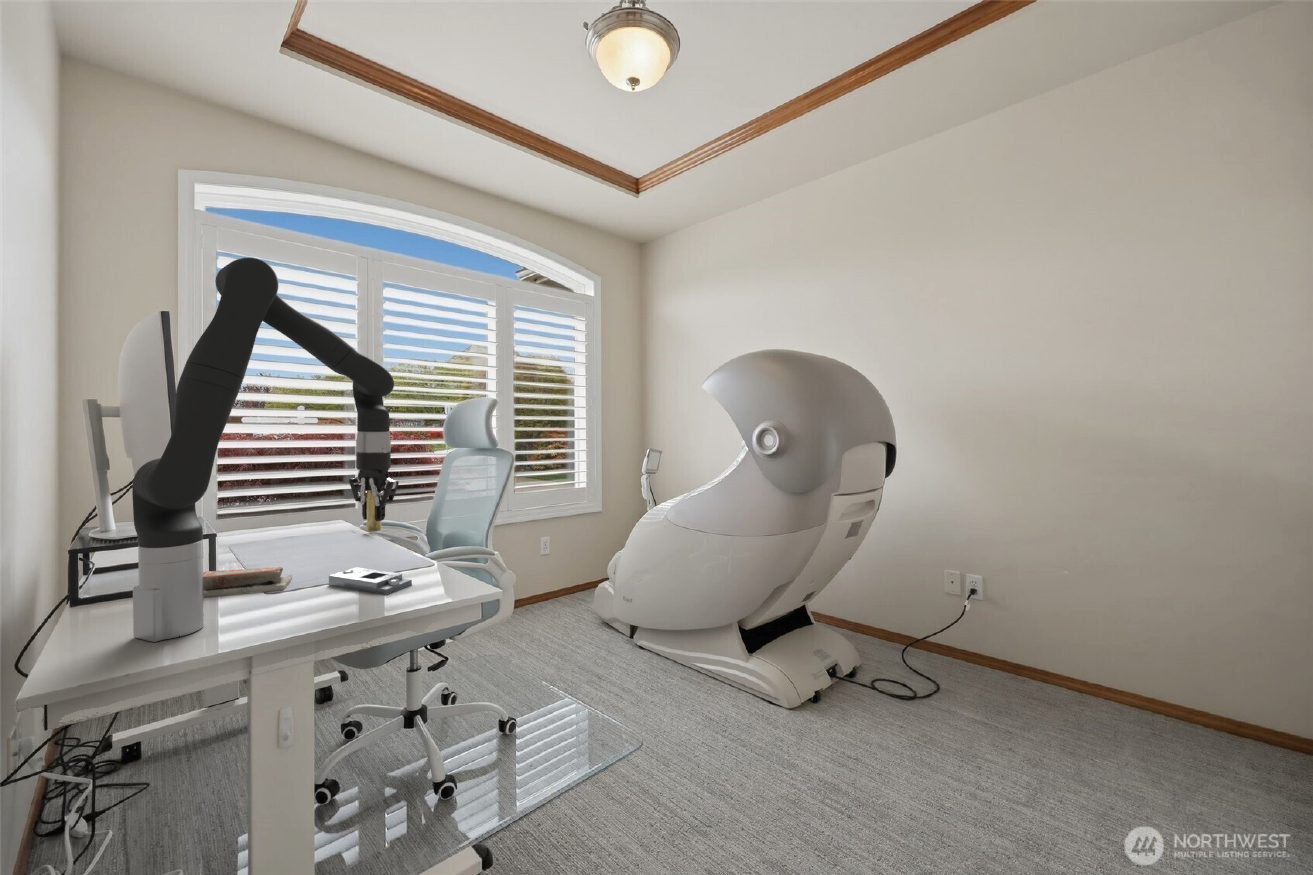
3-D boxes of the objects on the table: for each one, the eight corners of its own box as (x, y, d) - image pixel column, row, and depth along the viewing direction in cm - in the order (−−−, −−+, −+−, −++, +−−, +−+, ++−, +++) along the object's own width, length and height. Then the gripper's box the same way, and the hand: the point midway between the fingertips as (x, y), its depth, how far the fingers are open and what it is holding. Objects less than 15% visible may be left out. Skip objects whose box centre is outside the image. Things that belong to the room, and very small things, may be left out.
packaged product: (189, 579, 123) (204, 567, 132) (189, 600, 123) (205, 587, 132) (284, 571, 130) (293, 561, 139) (284, 591, 130) (293, 580, 139)
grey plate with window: (386, 594, 128) (386, 583, 128) (328, 585, 134) (328, 574, 134) (411, 584, 136) (411, 574, 136) (356, 576, 142) (356, 566, 142)
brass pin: (373, 532, 132) (373, 491, 132) (363, 530, 133) (363, 490, 133) (384, 529, 135) (384, 489, 135) (374, 528, 136) (374, 488, 136)
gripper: (338, 449, 132) (338, 520, 133) (384, 452, 128) (384, 525, 128) (364, 448, 139) (364, 515, 140) (408, 450, 135) (408, 519, 136)
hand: (373, 519), depth 134 cm, fingers closed on brass pin, 3 cm apart
